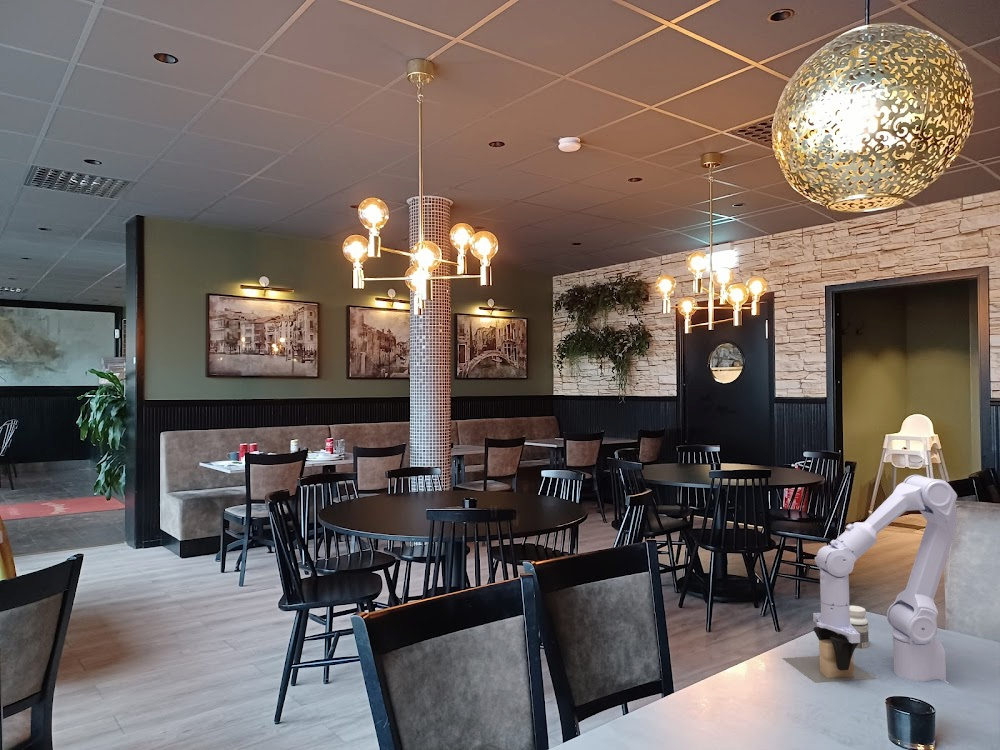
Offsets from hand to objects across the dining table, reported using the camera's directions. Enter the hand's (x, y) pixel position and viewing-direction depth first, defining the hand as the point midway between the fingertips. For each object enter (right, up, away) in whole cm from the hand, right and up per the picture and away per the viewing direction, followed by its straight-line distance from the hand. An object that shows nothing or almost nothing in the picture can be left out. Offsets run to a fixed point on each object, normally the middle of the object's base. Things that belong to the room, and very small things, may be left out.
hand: (836, 665), depth 156 cm
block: (0, -2, 0) cm, 2 cm away
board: (0, -3, +3) cm, 5 cm away
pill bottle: (+13, -4, +18) cm, 23 cm away
